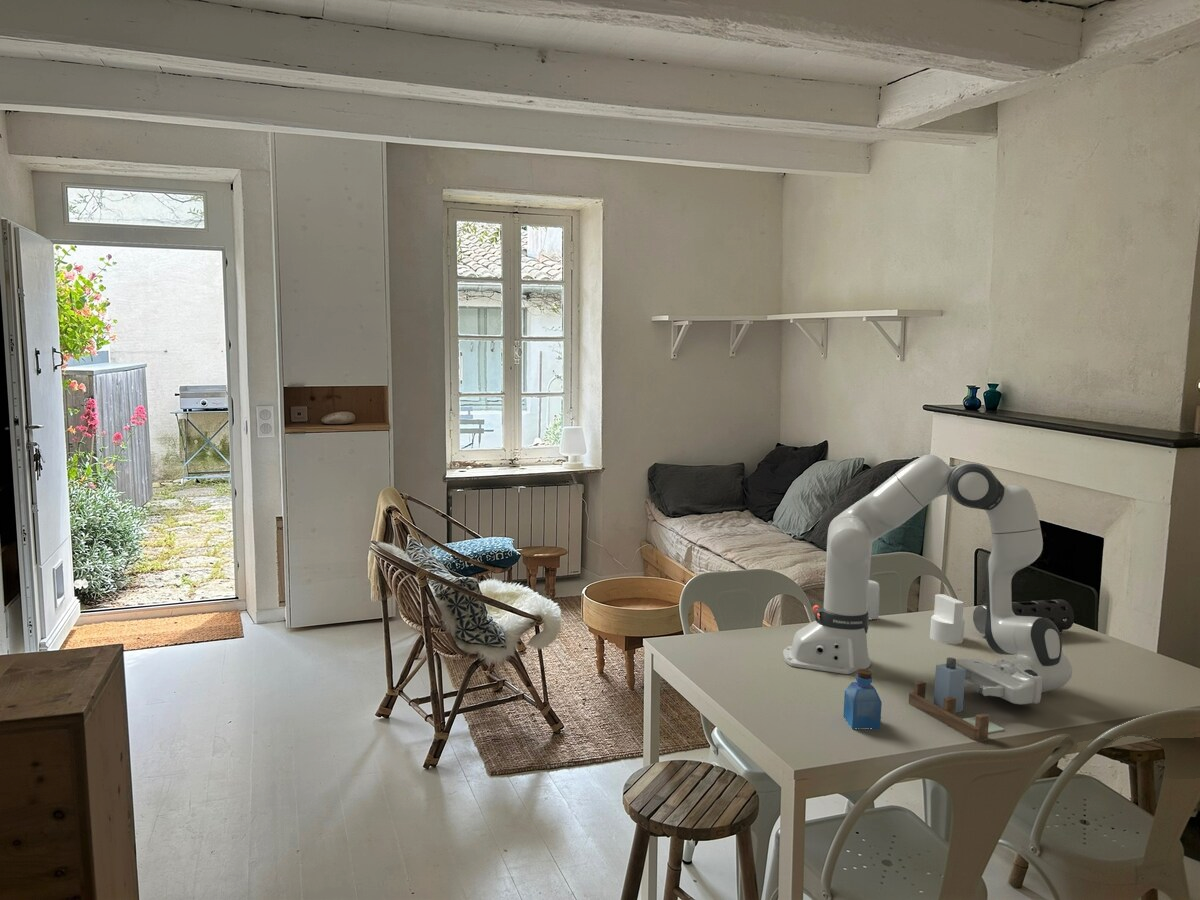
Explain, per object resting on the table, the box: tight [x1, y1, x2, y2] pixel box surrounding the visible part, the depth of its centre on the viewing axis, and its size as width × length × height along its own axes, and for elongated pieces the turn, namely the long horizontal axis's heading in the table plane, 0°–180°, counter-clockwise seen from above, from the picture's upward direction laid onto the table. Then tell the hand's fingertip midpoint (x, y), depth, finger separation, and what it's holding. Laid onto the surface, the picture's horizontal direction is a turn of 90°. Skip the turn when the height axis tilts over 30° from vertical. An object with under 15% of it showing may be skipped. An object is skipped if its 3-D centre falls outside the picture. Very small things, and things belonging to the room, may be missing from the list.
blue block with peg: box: [933, 657, 966, 714], centre depth 204 cm, size 4×4×12 cm
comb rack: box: [908, 680, 1005, 741], centre depth 200 cm, size 10×21×5 cm, turn 21°
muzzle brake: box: [972, 598, 1075, 635], centre depth 260 cm, size 10×28×10 cm, turn 104°
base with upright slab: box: [929, 593, 966, 645], centre depth 254 cm, size 9×9×12 cm
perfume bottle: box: [842, 668, 883, 730], centre depth 196 cm, size 6×6×12 cm
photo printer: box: [867, 579, 881, 621], centre depth 271 cm, size 10×4×12 cm, turn 96°
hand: (966, 683), depth 206 cm, fingers open, 8 cm apart
